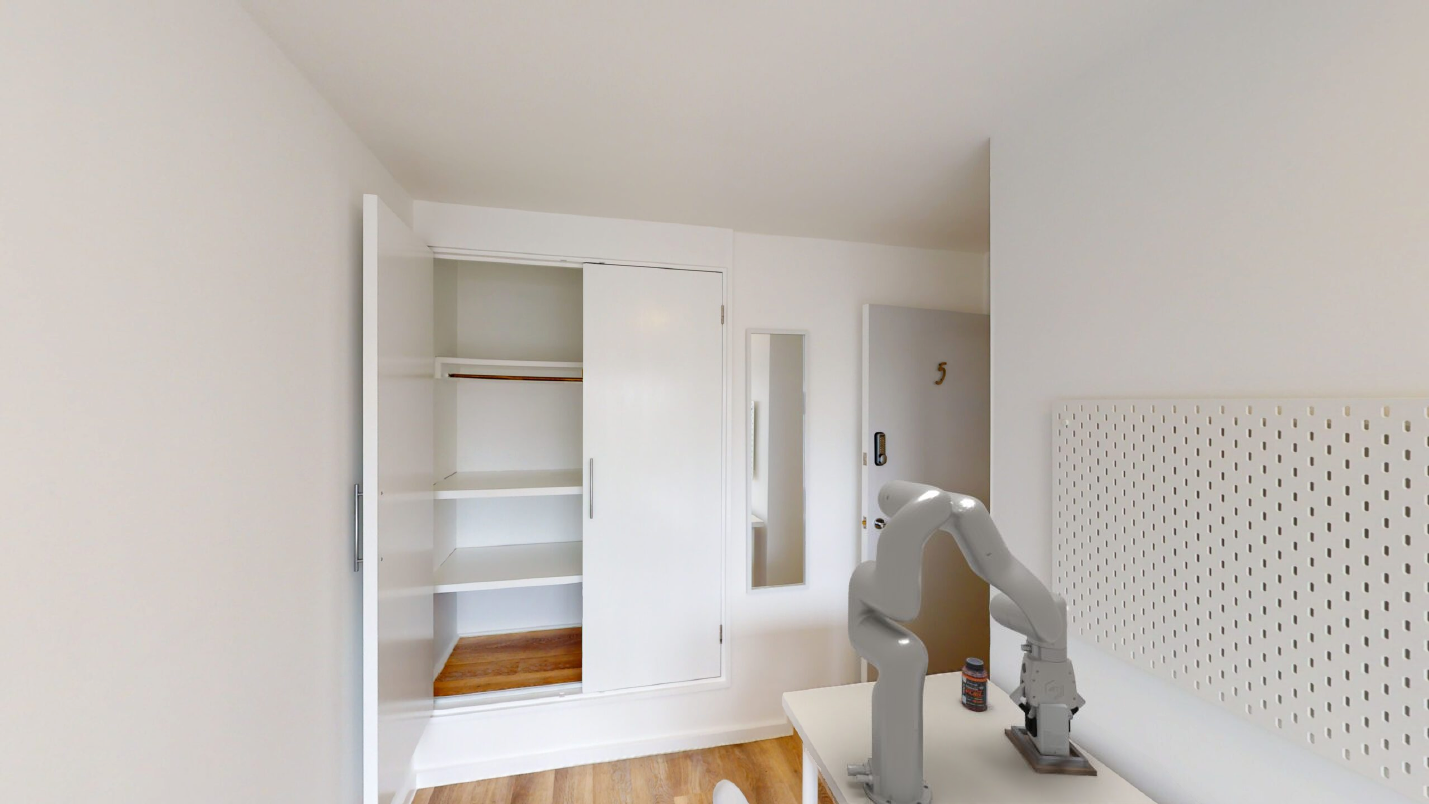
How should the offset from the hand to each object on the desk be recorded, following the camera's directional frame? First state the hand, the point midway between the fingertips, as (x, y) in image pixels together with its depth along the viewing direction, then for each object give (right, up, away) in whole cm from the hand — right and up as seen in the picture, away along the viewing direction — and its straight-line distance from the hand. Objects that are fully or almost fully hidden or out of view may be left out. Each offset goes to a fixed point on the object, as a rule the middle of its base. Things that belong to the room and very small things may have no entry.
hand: (1047, 733), depth 119 cm
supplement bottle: (-7, -5, +19) cm, 21 cm away
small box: (0, -3, 0) cm, 3 cm away
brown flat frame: (0, -4, 0) cm, 4 cm away
